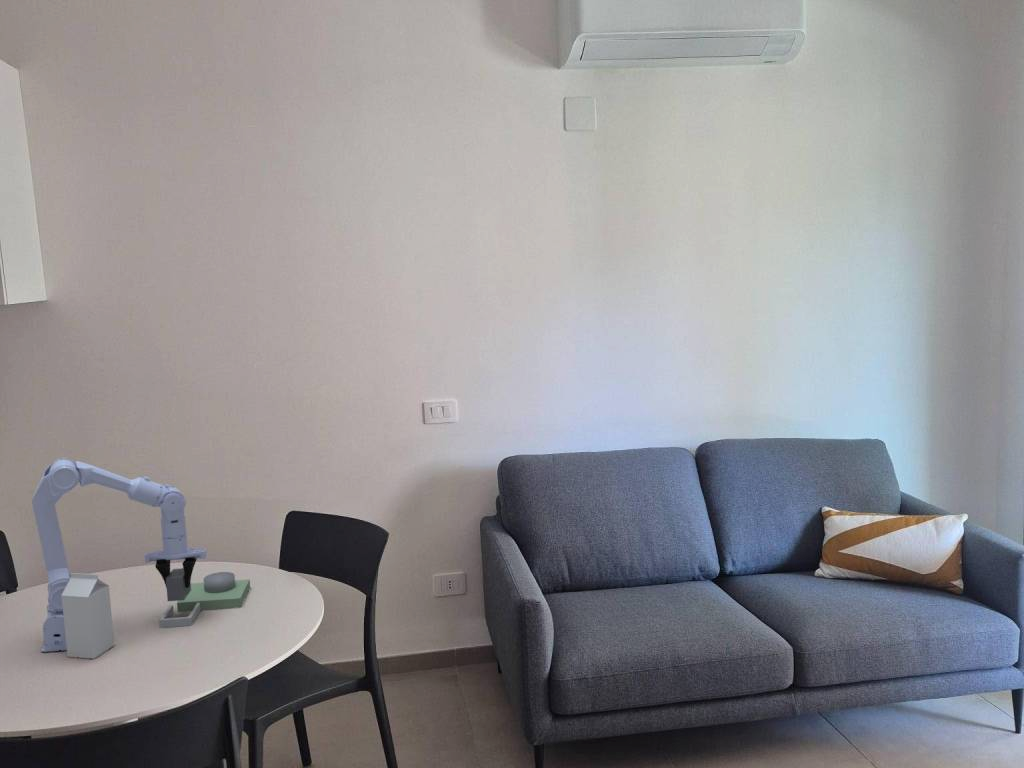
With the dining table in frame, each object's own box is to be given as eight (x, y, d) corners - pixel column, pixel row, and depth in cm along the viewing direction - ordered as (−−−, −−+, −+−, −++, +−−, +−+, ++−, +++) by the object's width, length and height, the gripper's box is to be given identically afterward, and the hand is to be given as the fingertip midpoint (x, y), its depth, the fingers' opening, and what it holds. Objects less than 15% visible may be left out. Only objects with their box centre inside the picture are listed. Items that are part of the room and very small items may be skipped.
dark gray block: (184, 600, 213) (182, 577, 212) (167, 601, 212) (165, 578, 212) (191, 590, 220) (189, 567, 219) (175, 591, 219) (173, 569, 219)
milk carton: (94, 659, 194) (86, 580, 192) (67, 657, 196) (59, 578, 193) (114, 646, 201) (107, 569, 199) (88, 644, 203) (81, 567, 200)
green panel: (233, 622, 213) (231, 601, 212) (159, 627, 211) (158, 606, 210) (250, 587, 237) (248, 569, 236) (184, 592, 234) (182, 573, 234)
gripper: (207, 528, 219) (211, 579, 220) (149, 532, 217) (153, 583, 219) (201, 537, 212) (205, 589, 213) (140, 540, 210) (145, 593, 212)
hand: (178, 587), depth 215 cm, fingers closed on dark gray block, 4 cm apart
